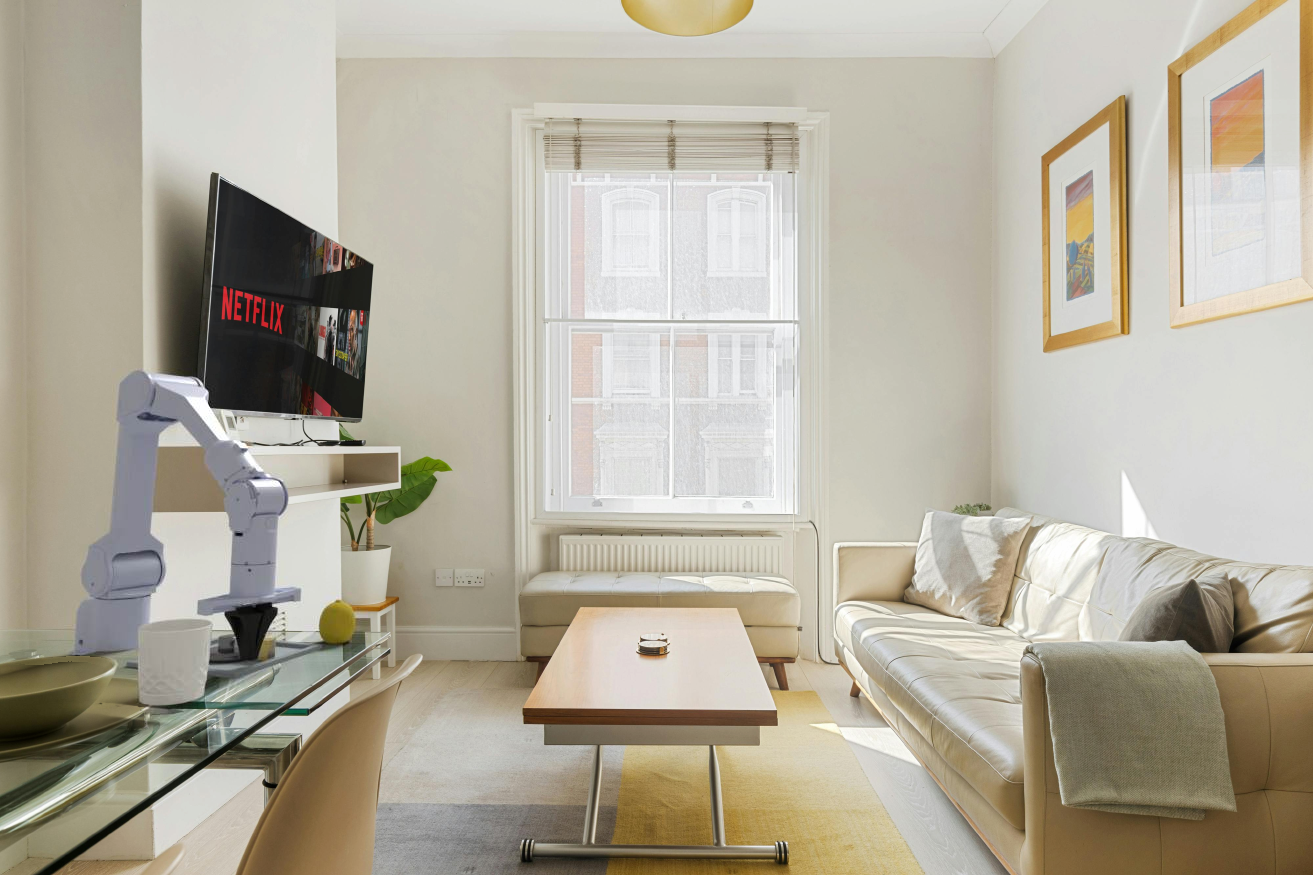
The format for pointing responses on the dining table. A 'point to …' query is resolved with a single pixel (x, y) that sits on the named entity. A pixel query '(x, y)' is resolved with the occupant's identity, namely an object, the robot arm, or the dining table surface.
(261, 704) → the dining table surface
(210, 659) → the dial
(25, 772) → the dining table surface
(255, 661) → the dial plate
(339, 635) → the lemon
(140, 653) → the white cup
